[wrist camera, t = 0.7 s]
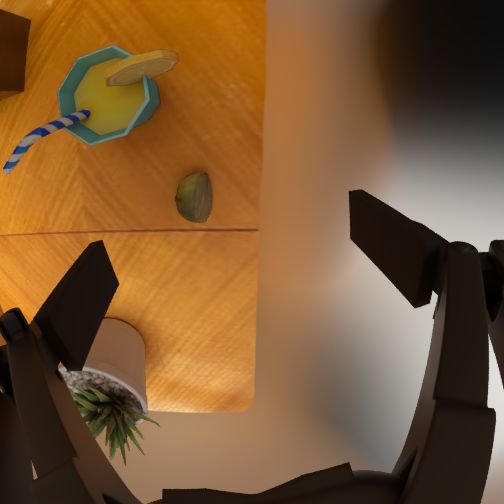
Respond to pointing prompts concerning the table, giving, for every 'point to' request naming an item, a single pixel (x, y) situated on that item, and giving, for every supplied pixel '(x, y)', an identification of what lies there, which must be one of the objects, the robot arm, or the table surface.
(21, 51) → the dark brown box
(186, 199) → the lime
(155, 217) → the table surface
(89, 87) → the cup
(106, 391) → the potted plant
